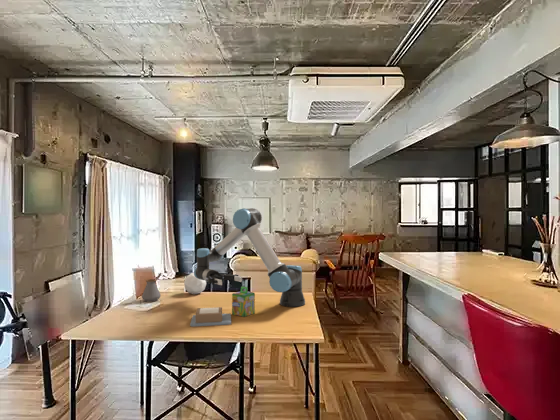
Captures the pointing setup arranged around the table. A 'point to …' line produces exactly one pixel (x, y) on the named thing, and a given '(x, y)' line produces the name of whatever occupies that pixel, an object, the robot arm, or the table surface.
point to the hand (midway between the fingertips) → (231, 281)
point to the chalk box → (243, 303)
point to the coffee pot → (151, 290)
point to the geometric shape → (194, 284)
